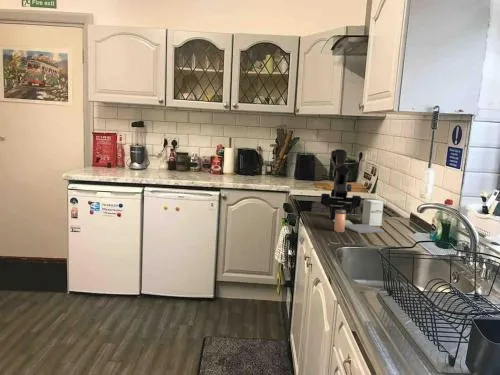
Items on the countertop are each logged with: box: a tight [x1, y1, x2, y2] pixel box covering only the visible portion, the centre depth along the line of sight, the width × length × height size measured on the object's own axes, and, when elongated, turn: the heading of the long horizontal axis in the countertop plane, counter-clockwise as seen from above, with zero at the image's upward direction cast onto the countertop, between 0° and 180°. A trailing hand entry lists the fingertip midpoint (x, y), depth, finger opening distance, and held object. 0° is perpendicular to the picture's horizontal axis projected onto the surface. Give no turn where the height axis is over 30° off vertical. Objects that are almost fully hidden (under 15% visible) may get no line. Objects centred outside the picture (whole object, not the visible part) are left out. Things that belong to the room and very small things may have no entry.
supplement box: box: [361, 199, 384, 227], centre depth 225 cm, size 7×7×13 cm
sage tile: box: [332, 219, 354, 225], centre depth 226 cm, size 8×8×1 cm
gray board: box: [345, 223, 385, 234], centre depth 214 cm, size 14×14×1 cm
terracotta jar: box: [333, 208, 347, 233], centre depth 207 cm, size 5×5×10 cm
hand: (340, 214), depth 206 cm, fingers open, 9 cm apart
